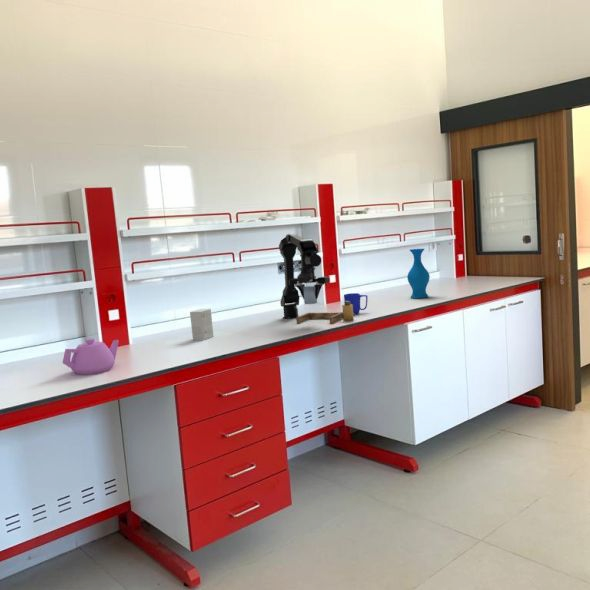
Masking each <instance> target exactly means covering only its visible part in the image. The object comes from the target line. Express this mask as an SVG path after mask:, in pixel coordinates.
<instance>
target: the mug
mask: <svg viewBox="0 0 590 590" xmlns="http://www.w3.org/2000/svg"><path fill="white" fill-rule="evenodd" d="M362 297H365V298H366V299H365V306H364V307H363V308H361V298H362ZM343 299H344V301H350V304H352V305H353V315H356V314H359V313H360V311H365V310H366V309H367V307H368V295H367V294H360V293H359V292H356V293H355V292H354V293H345V294H343Z"/></svg>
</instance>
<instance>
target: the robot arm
mask: <svg viewBox="0 0 590 590" xmlns="http://www.w3.org/2000/svg"><path fill="white" fill-rule="evenodd" d="M278 249H279V253H280V255H281V257H282V258H283V266H284V282H285V283H284V286H285V287H284V288H283V290H282V295H281V299H280V302H279V303H280V307H282V308H283V309H282V310H283V317H282V319H296V317H299V316H300V315H299V310H298V306H299V305H300V295H301V296H302V297H301V298H302V299H303V300H304V291H303V287H305V286H306V284H309V283H316V284H314V285H313V286H315V296H316V299H317V300H318V297H319V295H320V292H321V289H322V287H323V286H324V285H325V284H328V283H330V278H329V276H319V277H317V276H315V270H316V267H319V266H320V265H321V264H322V258H321V256H320V255H319V254H318V253H319V251H318V250H319V249H318V247H317V245H316V243H315V241H314V240H313V239H312V238H303V237H302V236H300V235H299V234H298V233H295V232H294V233H288V234H286V235H285V237H284V238H282V239H281V240H280V242H279V244H278ZM297 250H298V252H299V253H300V255H299V256H300V261H301V262H300V263H301V268H300V273H299V274H298V275H297V277H295V272H294V271H295V270H294V258H295V256H296V254H297ZM299 292H300V294H299Z"/></svg>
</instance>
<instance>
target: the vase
mask: <svg viewBox="0 0 590 590" xmlns="http://www.w3.org/2000/svg"><path fill="white" fill-rule="evenodd" d="M424 251H425V248H413V249H409V252H410V253H411V254H412V256H413V264H412V266H411V268H410V270H409V271H408V273H407V281H408V283H409V286H410V287H411V289H412V293H411V295H410V298H411V299H426V298H428V297H429V295H428V293H427V286H428V285H429V282H430V278H431V277H430V273H429V271H428V270H427V268H425V266H424V264H423V262H422V254H423V252H424Z"/></svg>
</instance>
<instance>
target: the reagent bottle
mask: <svg viewBox="0 0 590 590" xmlns="http://www.w3.org/2000/svg"><path fill="white" fill-rule="evenodd" d="M341 309H342V312H343V319H342V321H343V322H353V321H354V320H355V319H354V314H353V305H352V304H350V301H345V300H344V303H343V304H342V305H341Z"/></svg>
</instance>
